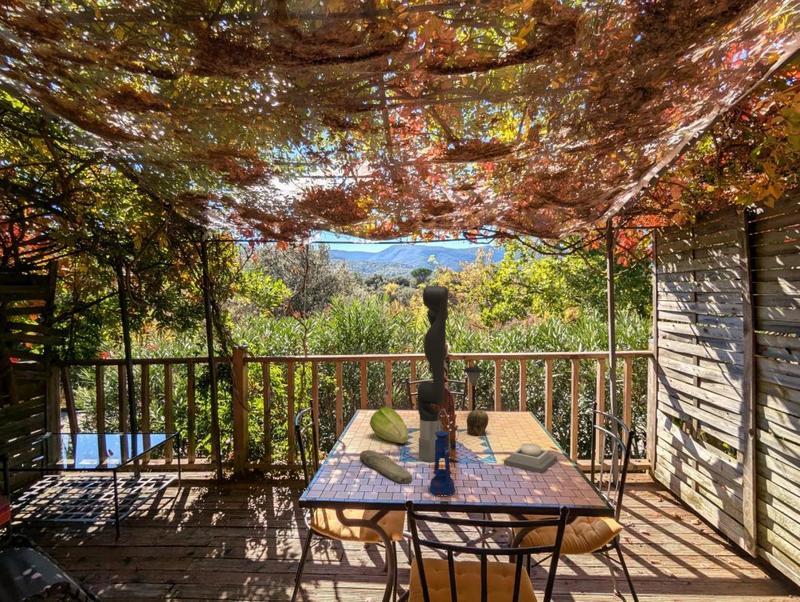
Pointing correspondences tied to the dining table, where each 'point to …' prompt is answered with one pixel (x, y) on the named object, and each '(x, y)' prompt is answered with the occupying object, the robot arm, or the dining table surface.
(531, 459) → the button plate
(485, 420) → the brown rounded block
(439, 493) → the lantern
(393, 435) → the lettuce
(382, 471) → the long grey stone
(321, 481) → the dining table surface
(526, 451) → the button
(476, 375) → the solar garden light
